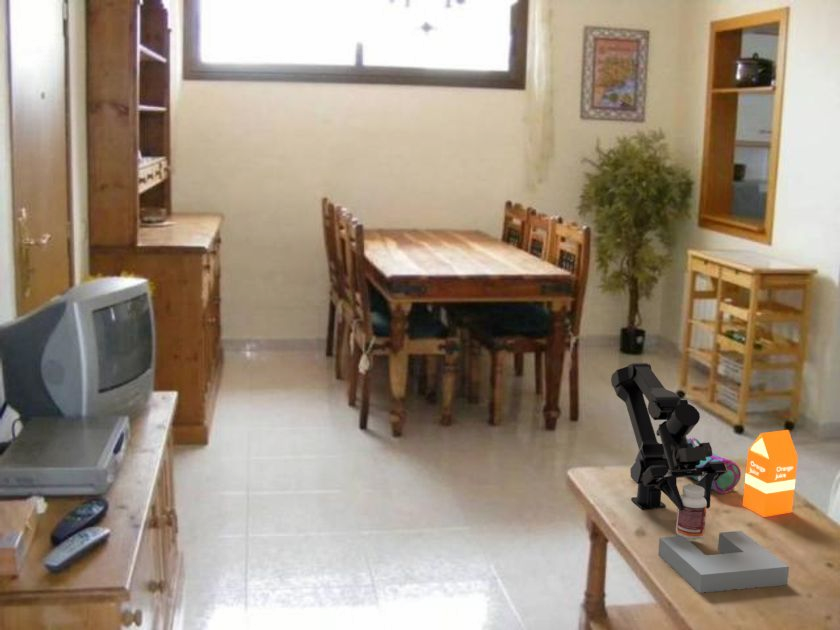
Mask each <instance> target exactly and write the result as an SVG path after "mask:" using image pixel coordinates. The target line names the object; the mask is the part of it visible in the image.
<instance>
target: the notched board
mask: <svg viewBox="0 0 840 630" xmlns="http://www.w3.org/2000/svg"><path fill="white" fill-rule="evenodd" d="M658 541H659V542H658V552H657V555H658V556H659V557H660V558H661V559H662V560H664V562H666V563H667V565H669V566H670V567H671V568H672V569H673V570H674V571H675V572H677V574H678V575H680V576H681V578H682V579H684V580H685V581H686V582H687V583H688V584H689V585H690V586H691V585H692V586H693V587H694V588H693V587H692V586H691V587H692V588H693V589H695V591H697V592H698V593H699V594H705V593H704V592H706V593H714V592H715V591H716V592H723V591H724V590H726V591H731V590H730V589H737V590H744V589H745V588H747V589H756V588H755V587H757V588H767V587H774V586H775V587H777V586H784V585H788V581H789V580H788V579H789V571H790V566H789V565H788V564H786V563H785V562H783V560H781V559H779V557H777V556H776V555H774V554H773V553H772V552H771V551H769V550H768V549H766V548H765V547H764V546H763V545H761V544H760V543H759V542H757V541H755V539H753V538H752V537H751V536H749V535H748V534H746V532H744V531H742V530H736V531H735V530H734V531H723V532H719V533H718V543H717V550H718V551H719V552H720V553H719V554H718V553H717V554H707V555H706V554H705V553H704V552H703V551H701V550H700V549H699V548H697V547H696V546H695V545H694V544H693V543H691V541H689V539H688V538H685V537H683V536H680V535H675V536H674V535H673V536H664V537H663V536H662V537H659V540H658ZM724 592H725V591H724Z"/></svg>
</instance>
